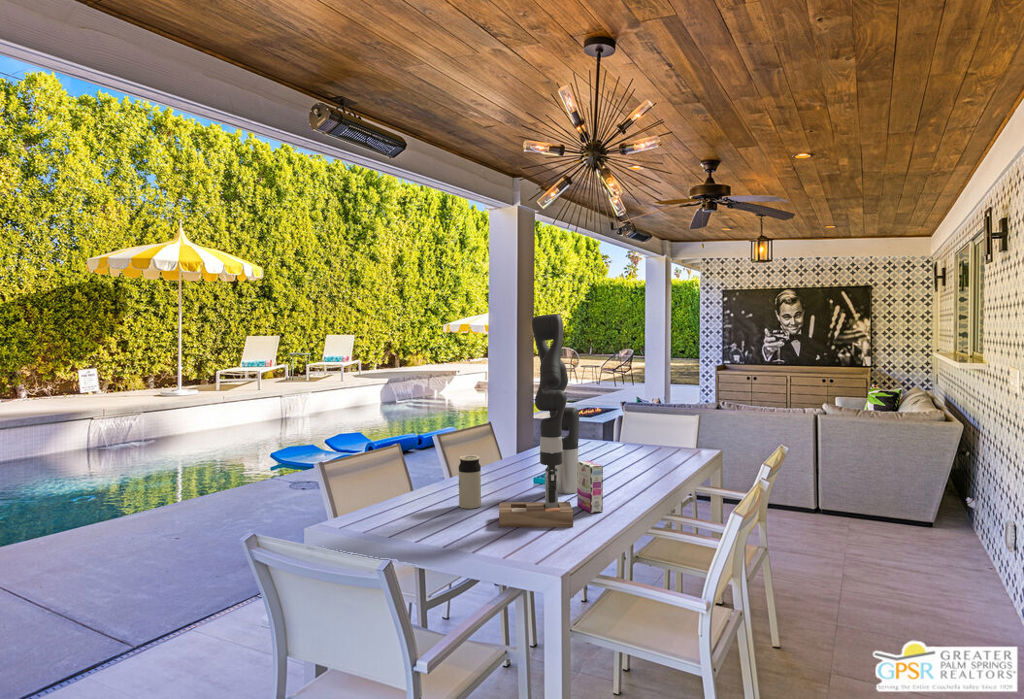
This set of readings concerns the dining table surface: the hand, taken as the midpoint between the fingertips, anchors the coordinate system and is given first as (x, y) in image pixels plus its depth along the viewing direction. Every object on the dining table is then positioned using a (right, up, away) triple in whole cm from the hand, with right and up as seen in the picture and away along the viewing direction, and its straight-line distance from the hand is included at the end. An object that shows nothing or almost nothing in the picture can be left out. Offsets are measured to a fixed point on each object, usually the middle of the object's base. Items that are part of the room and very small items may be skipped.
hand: (551, 500), depth 220 cm
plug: (0, -3, 0) cm, 3 cm away
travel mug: (-28, -7, +19) cm, 35 cm away
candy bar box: (+15, -7, +14) cm, 21 cm away
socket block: (-5, -7, -1) cm, 9 cm away
